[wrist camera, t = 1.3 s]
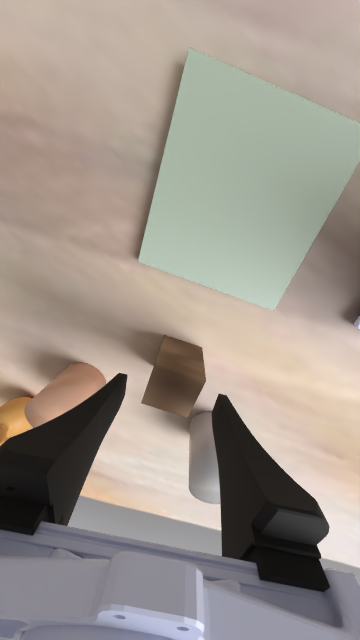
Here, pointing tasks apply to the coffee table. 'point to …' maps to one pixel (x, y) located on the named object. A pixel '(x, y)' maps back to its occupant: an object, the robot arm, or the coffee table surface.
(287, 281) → the sage board
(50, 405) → the pink rounded capsule
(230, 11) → the coffee table surface
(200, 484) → the grey stone cylinder
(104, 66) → the coffee table surface
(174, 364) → the walnut block
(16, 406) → the figurine
